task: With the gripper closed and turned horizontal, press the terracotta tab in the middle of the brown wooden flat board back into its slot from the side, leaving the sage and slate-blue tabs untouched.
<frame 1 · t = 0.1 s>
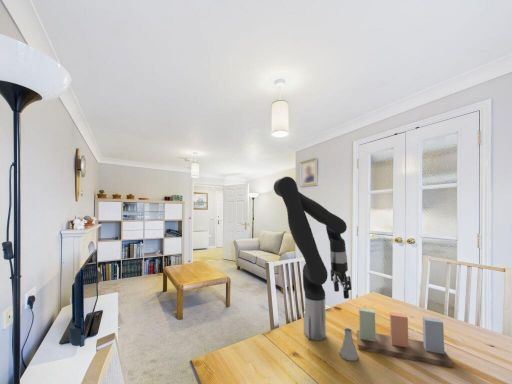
hand: (341, 294, 112), 17 cm above the table, tool pointing down, fingers open, 8 cm apart
flask: (348, 356, 94), on the table
brown wooden flat board: (399, 349, 98), on the table
sage tab: (367, 324, 102), point 8 cm above the table, slide at 0.0 cm
slate tab: (433, 334, 94), point 8 cm above the table, slide at 0.0 cm
terracotta tab: (398, 329, 98), point 8 cm above the table, slide at 0.0 cm
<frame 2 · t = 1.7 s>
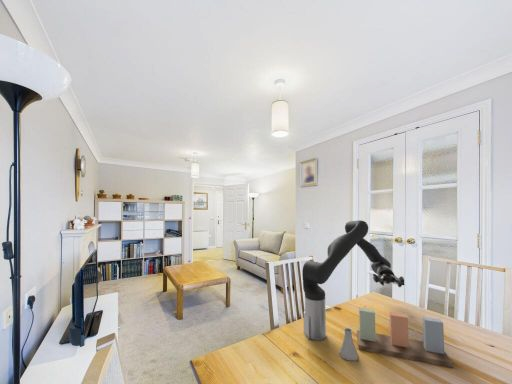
hand: (391, 284, 112), 22 cm above the table, tool horizontal, fingers open, 6 cm apart
nothing on the table moved.
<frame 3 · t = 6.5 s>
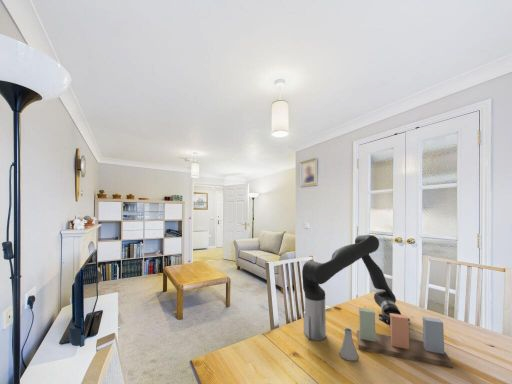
hand: (398, 328, 98), 8 cm above the table, tool horizontal, fingers closed
terracotta tab: (399, 330, 97), point 8 cm above the table, slide at 1.1 cm, touching gripper
everything else where it was.
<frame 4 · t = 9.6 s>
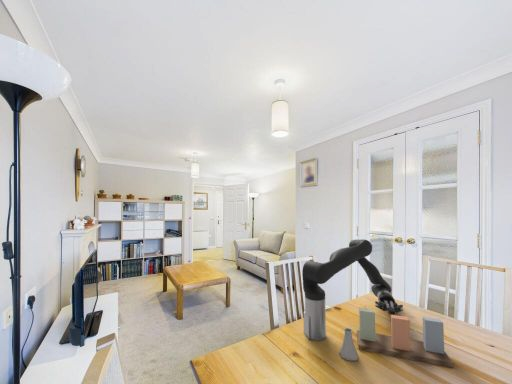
hand: (392, 313, 110), 9 cm above the table, tool horizontal, fingers closed
terracotta tab: (400, 332, 96), point 8 cm above the table, slide at 2.5 cm
everything else where it was.
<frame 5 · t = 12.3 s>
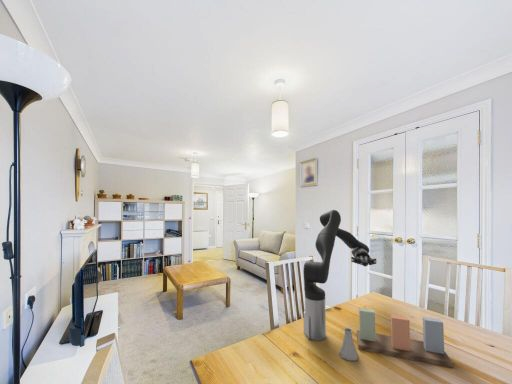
hand: (365, 264, 118), 30 cm above the table, tool horizontal, fingers closed
nothing on the table moved.
at the end: terracotta tab slide at 2.5 cm; sage tab slide at 0.0 cm; slate tab slide at 0.0 cm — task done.
